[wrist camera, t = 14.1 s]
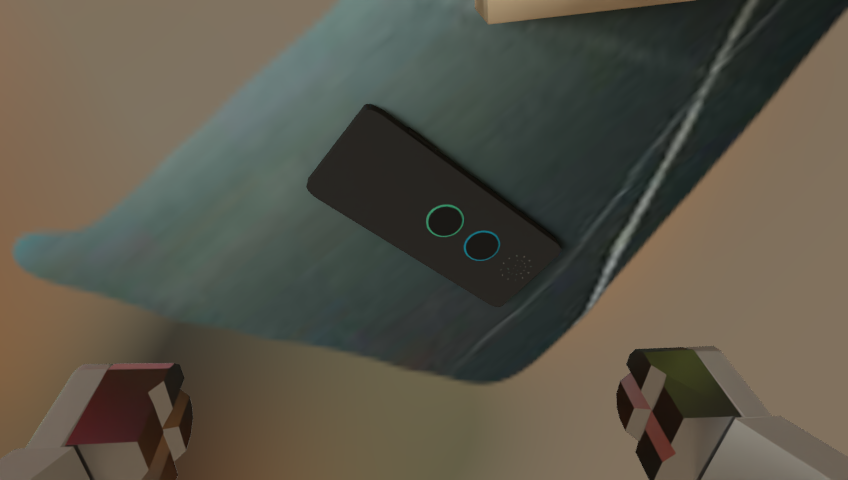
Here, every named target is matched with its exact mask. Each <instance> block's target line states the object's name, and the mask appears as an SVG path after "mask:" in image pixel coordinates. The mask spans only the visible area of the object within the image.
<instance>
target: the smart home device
mask: <svg viewBox="0 0 848 480" xmlns="http://www.w3.org/2000/svg"><path fill="white" fill-rule="evenodd" d="M307 189H308V191H309V192H310V193H311V194H312V195H313V196H315V197H316V198H317V199H319V200H321V201H322V202H324V203H326V204H327V205H329V206H330V207H332V208H334V209H335V210H337V211H339V212H340V213H342V214H343V215H345V216H347V217H348V218H350V219H352V220H353V221H355V222H356V223H358V224H360V225H361V226H363V227H365V228H366V229H368V230H369V231H371V232H373V233H374V234H376V235H378V236H379V237H381V238H382V239H384V240H386V241H387V242H389V243H391V244H392V245H394V246H395V247H397V248H399V249H400V250H402V251H404V252H405V253H407V254H408V255H410V256H412V257H413V258H415V259H417V260H418V261H420V262H421V263H423V264H425V265H426V266H428V267H430V268H431V269H433V270H435V271H436V272H438V273H439V274H441V275H443V276H444V277H446V278H448V279H449V280H451V281H452V282H454V283H456V284H457V285H459V286H461V287H462V288H464V289H465V290H467V291H469V292H470V293H472V294H474V295H475V296H477V297H478V298H480V299H482V300H483V301H485V302H487V303H488V304H490V305H492V306H495V307H501V306H503V305H504V304H505V303H506V302H507V301H508V300H509V299H511V298H512V297H513V296H514V295H515V294H516V293H517V292H518V291H520V290H521V289H522V288H523V287H524V286H525V285H526V284H527V283H528V282H530V281H531V280H532V279H533V278H534V277H535V276H536V275H537V274H539V273H540V272H541V271H542V270H543V269H544V268H545V267H546V266H547V265H549V264H550V263H551V262H552V261H553V260H554V259H555V258H556V257H557V256H559V255H560V254H561V248H560V246H559V244H558V242H557V241H556V239H555V238H554V237H553V236H552V235H551V234H549V233H548V232H547V231H545V230H544V229H543V228H541V227H540V226H539V225H537V224H536V223H535V222H533V221H532V220H531V219H529V218H528V217H526V216H525V215H524V214H522V213H521V212H520V211H518V210H517V209H516V208H514V207H513V206H512V205H510V204H509V203H508V202H506V201H505V200H504V199H502V198H501V197H499V196H498V195H497V194H495V193H494V192H493V191H491V190H490V189H489V188H487V187H486V186H485V185H483V184H482V183H481V182H479V181H478V180H476V179H475V178H474V177H472V176H471V175H470V174H468V173H467V172H466V171H464V170H463V169H462V168H460V167H459V166H458V165H456V164H455V163H454V162H452V161H451V160H449V159H448V158H447V157H445V156H444V155H443V154H441V153H440V152H439V151H437V150H436V148H435V147H434V146H433V145H432V144H430V143H429V142H428V141H426V140H425V139H424V138H422V137H421V136H420V135H418V134H417V133H415V132H414V131H413V130H411V129H410V128H409V129H408V128H406V127H405V126H404V125H402V124H401V123H399V122H398V121H397V120H395V119H394V118H393V117H391V116H390V115H389V114H387V113H386V112H385V111H383V110H382V109H380V108H379V107H377V106H374V105H371V104H366V105H364V106H363V108H362V109H361V110H360V112H359V113H358V114H357V115H356V117H355V118H354V119H353V121H352V122H351V123H350V125H349V126H348V127H347V129H346V130H345V131H344V132H343V134H342V135H341V136H340V138H339V139H338V140H337V142H336V143H335V144H334V145H333V147H332V148H331V149H330V151H329V152H328V153H327V155H326V156H325V157H324V159H323V160H322V161H321V162H320V164H319V165H318V166H317V168H316V169H315V170H314V172H313V173H312V174H311V175H310V177H309V178H308V182H307Z"/></svg>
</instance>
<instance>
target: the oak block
mask: <svg viewBox="0 0 848 480" xmlns="http://www.w3.org/2000/svg"><path fill="white" fill-rule="evenodd" d="M685 1H694V0H475V9H476V10H477V11H478V13H479V14H480V15H481V16H482V17H483V19H484V20H485V21H486V22H487V23H488V24H496V23H504V22H513V21H522V20H530V19H539V18H547V17H556V16H565V15H573V14H582V13H590V12H599V11H608V10H616V9H625V8H633V7H642V6H651V5H659V4H668V3H676V2H685Z"/></svg>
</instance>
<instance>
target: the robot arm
mask: <svg viewBox="0 0 848 480" xmlns="http://www.w3.org/2000/svg"><path fill="white" fill-rule="evenodd" d="M626 365H627V366H628V368H629V370H630V373H629V374H628V375H627V376H626V377H624V378H623V379H622V380H621V381H620V383H619V386H618V390H617V393H616V396H617V397H616V398H617V410H618V414H619V418H620V420H621V422H622V425H623V427H624V429H625V431H626V432H627V433H629V434H630V435H631V436H633V437H634V438H635V439H636V440H638V445H637V449H636V454H637V456H638V458H639V460H640V462H641V464H642V466H643V468H644V471H645V472H646V474H647V477H648V479H649V480H848V457H847V456H846V455H844V454H842V453H840V452H839V451H837V450H836V449H834V448H832V447H831V446H829V445H828V444H826V443H824V442H822V441H821V440H819V439H818V438H816V437H814V436H812V435H811V434H809V433H808V432H806V431H804V430H803V429H801V428H799V427H798V426H796V425H794V424H793V423H791V422H790V421H788V420H786V419H785V418H783V417H781V416H772V415H771V414H770V413H769V412H768V410H767V409H766V408H765V406H764V405H763V404H762V402H761V401H760V400H759V399H758V397H757V396H756V395H755V394H754V392H753V391H752V390H751V389H750V387H749V386H748V385H747V383H746V382H745V381H744V380H743V378H742V377H741V376H740V374H739V373H738V372H737V371H736V370H735V368H734V367H733V366H732V364H731V363H730V362H729V361H728V359H727V358H726V357H725V355H724V354H723V353H722V352H721V351H720V350H719V349H717V348H715V347H714V346H705V347H687V348H683V347H680V348H679V347H678V348H653V349H635V350H634V351H633V352H632V353H631V354H630V355H629V358H628V361H627V363H626ZM183 381H184V376H183V373H182V370H181V367H180V365H179V364H175V363H133V364H131V363H126V364H124V363H121V364H120V363H119V364H83V365H82V366H80V367H79V368H78V369H76V370H75V371H74V372H73V374H72V375H71V377H70V379H69V380H68V382H67V383H66V385H65V386H64V388H63V390H62V391H61V393H60V394H59V396H58V398H57V399H56V401H55V402H54V404H53V405H52V407H51V408H50V410H49V412H48V413H47V415H46V416H45V418H44V420H43V421H42V423H41V424H40V426H39V427H38V429H37V431H36V432H35V434H34V435H33V437H32V439H31V440H30V442H29V443H28V445H27V446H26V448H23V449H14V450H13V451H12V452H10V453H9V454H7V455H6V456H4V457H3V458H1V459H0V480H176V479H177V476H178V473H177V470H176V467H175V464H174V461H175V460H176V459H177V458H179V457H180V455H182V454H183V453H184V452H185V451H186V449H187V446H188V443H189V440H190V437H191V430H192V422H193V411H192V404H191V400H190V396H189V395H188V394H186V393H185V392H183V391H182V390H181V389H180V388H181V386H182V383H183Z"/></svg>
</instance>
